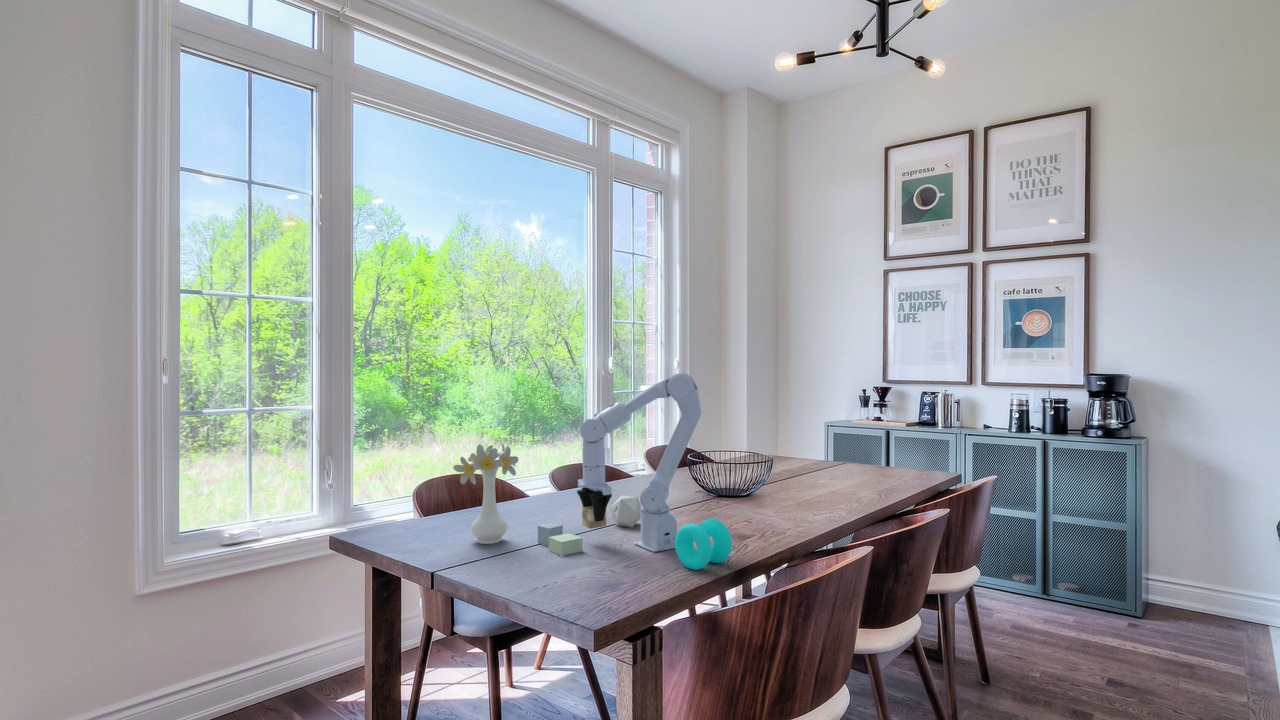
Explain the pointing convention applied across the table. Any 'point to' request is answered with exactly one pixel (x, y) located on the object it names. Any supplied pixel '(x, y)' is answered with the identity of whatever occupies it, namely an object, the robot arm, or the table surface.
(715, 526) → the donuts
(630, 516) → the die
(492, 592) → the table surface
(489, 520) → the flower vase
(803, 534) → the table surface
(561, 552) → the pale green block
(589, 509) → the beech cube
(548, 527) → the slate cube
